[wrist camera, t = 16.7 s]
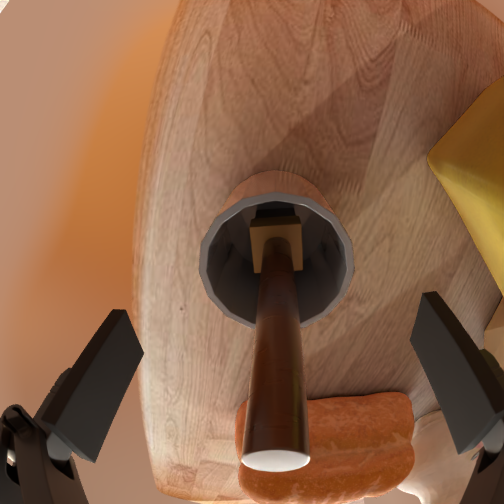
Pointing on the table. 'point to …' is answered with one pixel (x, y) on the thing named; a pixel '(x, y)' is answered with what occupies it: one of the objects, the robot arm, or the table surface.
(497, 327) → the cream faceted piece
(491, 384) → the robot arm
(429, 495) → the ceramic pitcher
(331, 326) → the table surface
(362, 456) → the bread
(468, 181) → the flower pot
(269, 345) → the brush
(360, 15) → the table surface
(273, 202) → the gray pen holder
